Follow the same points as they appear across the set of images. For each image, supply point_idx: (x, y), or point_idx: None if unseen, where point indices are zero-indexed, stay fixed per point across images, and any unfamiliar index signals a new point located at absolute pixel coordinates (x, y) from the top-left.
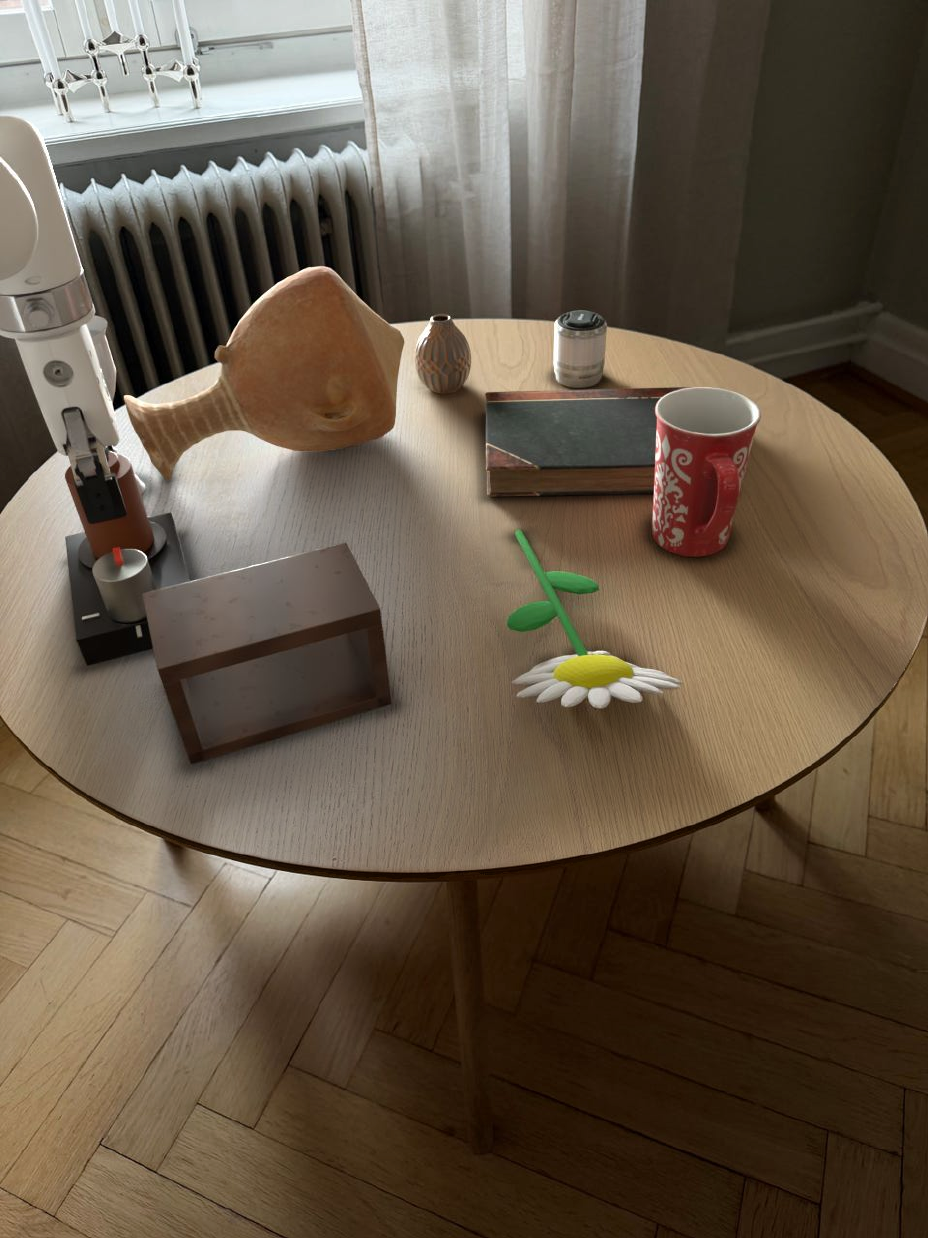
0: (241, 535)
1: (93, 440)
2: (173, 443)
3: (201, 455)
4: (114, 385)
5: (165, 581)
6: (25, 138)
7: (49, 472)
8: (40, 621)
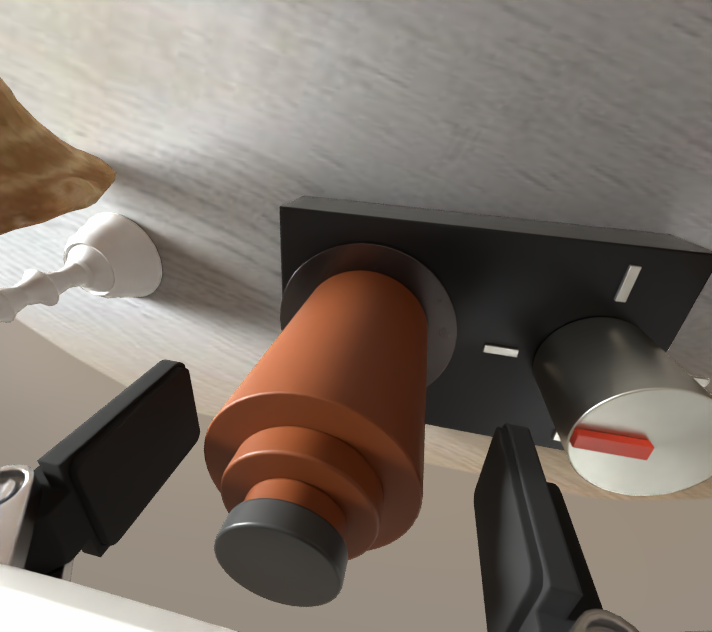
0: (359, 46)
1: (133, 460)
2: (8, 131)
3: (4, 62)
4: None
5: (551, 290)
6: None
7: (53, 339)
8: (427, 433)
